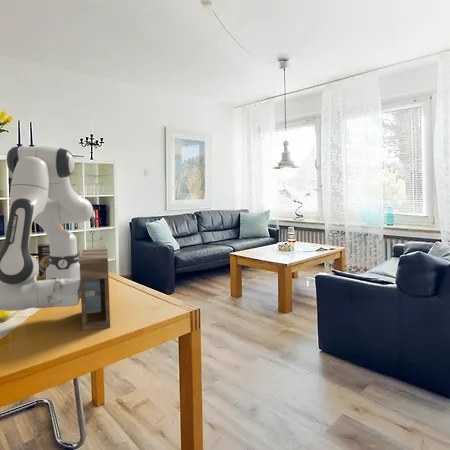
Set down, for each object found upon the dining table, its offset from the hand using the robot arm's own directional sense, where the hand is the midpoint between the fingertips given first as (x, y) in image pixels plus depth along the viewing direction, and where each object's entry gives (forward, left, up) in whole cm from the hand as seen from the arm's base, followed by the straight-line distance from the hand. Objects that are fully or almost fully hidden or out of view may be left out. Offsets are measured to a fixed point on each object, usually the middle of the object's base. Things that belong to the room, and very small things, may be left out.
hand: (95, 289), depth 121 cm
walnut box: (0, 0, -10) cm, 10 cm away
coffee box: (-67, -23, -10) cm, 71 cm away
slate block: (0, -1, -7) cm, 7 cm away
